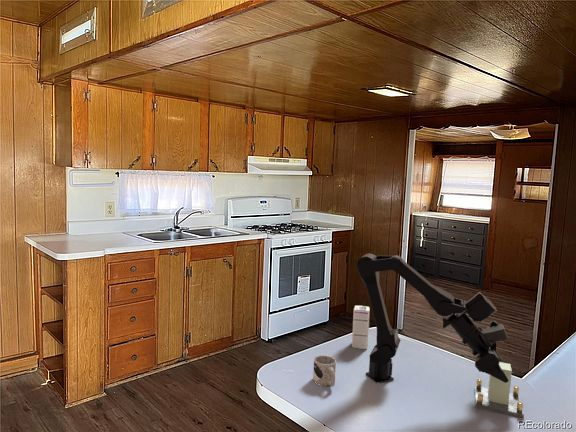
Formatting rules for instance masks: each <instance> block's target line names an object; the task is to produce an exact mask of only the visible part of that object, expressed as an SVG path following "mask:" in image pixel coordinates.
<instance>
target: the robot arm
mask: <svg viewBox="0 0 576 432" xmlns="http://www.w3.org/2000/svg"><path fill="white" fill-rule="evenodd" d="M356 269H357V272H358V274H359V276H360V279H361V280H362V281H363V283H364V285H365V288H366V290H367V295H368V299H369V303H370V306H371V311H372V312H371V313H372V316H373V318H374V323H375V327H376V344H375V345H374V347H373V348H372V349H371V352H370V354H369V361H368V362H369V365H368V371H367V372H365V375H366V376H367V377H369V378H370V379H371V380H372V381H374V382H375V383H376V384H380V383H385V382H390V381H394V377H393V376H392V375H393V359H392V358H394V357H395V356H396V354H397V351H398V349H399V345H400V343H401V339H400V337H399V331H398V328H395V329H393V328H392V326H391V324H390V319H389V316H388V312H387V307H386V304H385V301H384V300H385V299H384V296H383V291H382V287H381V284H380V272H385V271H394V272H395V273H396V274H397V275H399V276H400V277H401V278H402V279H403V280H405V281H406V282H407V283H408V284H409V285H411V287H412V288H413V289H415V290H416V291H417V292H419V293H420V294H421V295H422V296H423V297H424V298H425V300H426V301H427V302H428V304H429V305H430V307H431V308H432V309H433V311H435V313H436V314H437V315H439V316H440V317H442V328H443V329H445V328H447V327H449V326H450V328H452V329H453V330H454V332H455V333H456V334H457V336H458V337H460V339H461V343H463V345H466V346H467V347H468V348H469V349H470V350H471V354H472V355H473V356H474V367H475V368H476V369H477V370H478V372H481V373H485V374H487V375H489V376H490V375H491V376H493V377H495V378H497V379H499V380H501V381H503V382H505V383H507V382H508V381H509V380H508V378H507V377H506V375H505V373H504V372H503V370H502V369H501V367H500V365H499V362H502V363H504V361H503V360H502V359H503V358H502V357H501V356H500V354H499V352H498V349H497V344H498V343H497V342H500V341H502V342H503V341H507V340H509V339H508V338H509V337H508V334H507V331H506V329H505V326H504V324H502V323H498V322H497V321H496V320H491V321H489V326H487V327H486V328H482V326H479V325H477V324H476V323H475V322H477V323H478V322H479V323H482V322H483V321H484V320H485V319H488V318H489V317H490V316H492V315H494V314H495V313H497V312H498V309H497V308H496V306H495V305H494V303H493V302H492V301H491V300H490V298H487V297H486V296H485V295H484V294H482V293H481V292H480V291H478V292H476V294H475V295H474V296H472V297H471V298H469V299H468V300H464V299H460V298H457V297H455V296H454V295H452V294H451V293H450V292H448V291H446V290H444V289H443V288H441V287H438V286H436V285H434V284H432V283H431V281H429V280H428V279H427V278H426V277H424V276H423V275H422V274H421V273H419V272H418V271H417V270H416V269H415V268H413V267H412V266H410V265H409V263H407V262H406V261H405V260H404V259H403V258H402V257H401V256H400V255H396V254H395V255H375V254H373V253H366V254H364V255H363V256H361V257H360V258H359V259H358V260H357V262H356Z"/></svg>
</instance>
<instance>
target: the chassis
mask: <svg viewBox="0 0 576 432" xmlns="http://www.w3.org/2000/svg"><path fill="white" fill-rule="evenodd" d="M482 383H483V380H482V379H481V378H476V383H475V384H476V385H475V386H474V397H475V398H474V401H475V408H477V409H482V410H486V411H490V412H491V411H492V412H496V413H499V414H500V413H501V414H504V415H509V416H513V417H519V418H523V419H524V418H525V414H524V409H523V408H524V403H523V402H521V401H522V400H521V397H520V394H519V391H520V387H519V386H516V385H514V386H513V390H512V391H513V392H510V394H509V403H508V405H506V404H501V403H496V402H491V401H489V397H488V388H489V387H485V386H482V385H483V384H482Z"/></svg>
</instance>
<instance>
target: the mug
mask: <svg viewBox="0 0 576 432" xmlns="http://www.w3.org/2000/svg"><path fill="white" fill-rule="evenodd" d="M336 364H337V360H336V358H334V357H333V356H330V355H318V356H315V357H314V358H313V371H312V376H313V377H312V381H313V380H314V381H313V382H316V383H317V384H316V383H315V384H316V385H318V384H320V385H319V386H321V385H323V386H322V387H328V386H329V387H332V388H333V387H335V385H336V368H337V365H336Z"/></svg>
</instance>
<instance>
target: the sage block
mask: <svg viewBox="0 0 576 432" xmlns="http://www.w3.org/2000/svg"><path fill="white" fill-rule="evenodd" d="M499 365H500V367H501V369H502V370H503V372H504V373H505V375H506V377H507V378H508V380H509V381H508V382H507V383H505V382H503V381H501V380H499V379H497V378H495V377H493V376H491V375H489V380H488V387H487V388H488V397H489V401H491V402H496V403H501V404H506V405H508V403H509V394H510V393H511V383H512V372H513V370H512V367H511V363H506V362H503V363H502V362H499Z"/></svg>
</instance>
